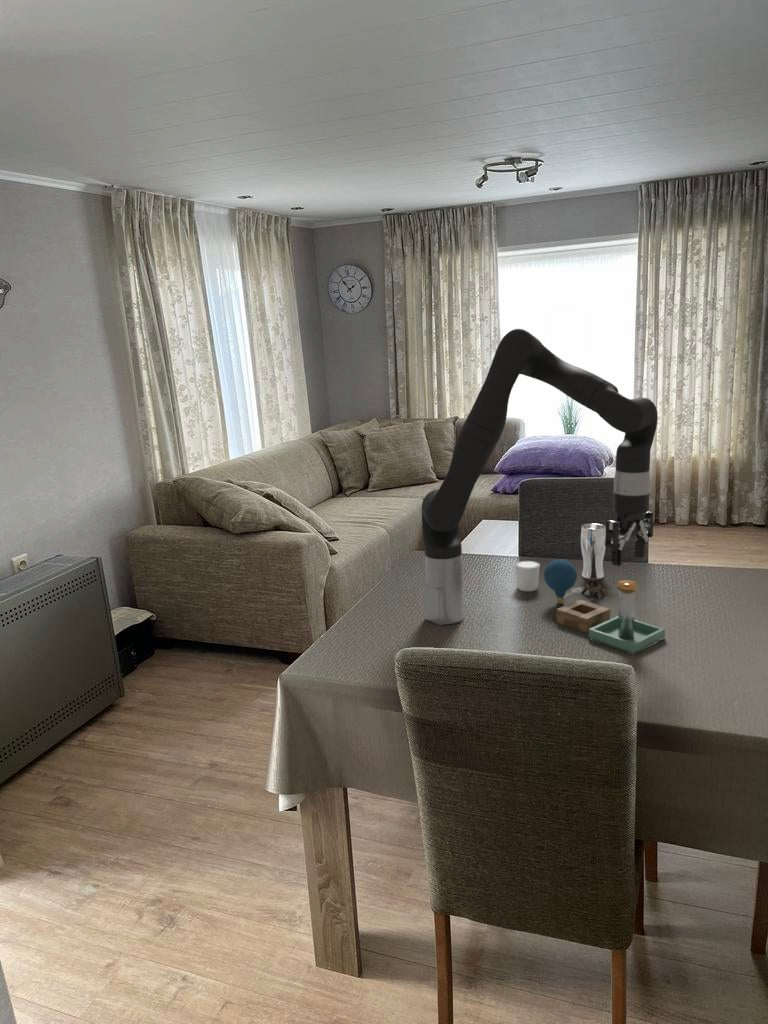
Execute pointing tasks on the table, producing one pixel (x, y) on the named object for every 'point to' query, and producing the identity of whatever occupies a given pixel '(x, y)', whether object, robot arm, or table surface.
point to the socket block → (582, 615)
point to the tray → (641, 640)
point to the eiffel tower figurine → (590, 586)
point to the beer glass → (593, 548)
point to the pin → (626, 608)
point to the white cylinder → (527, 575)
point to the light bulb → (560, 577)
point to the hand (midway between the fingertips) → (628, 560)
